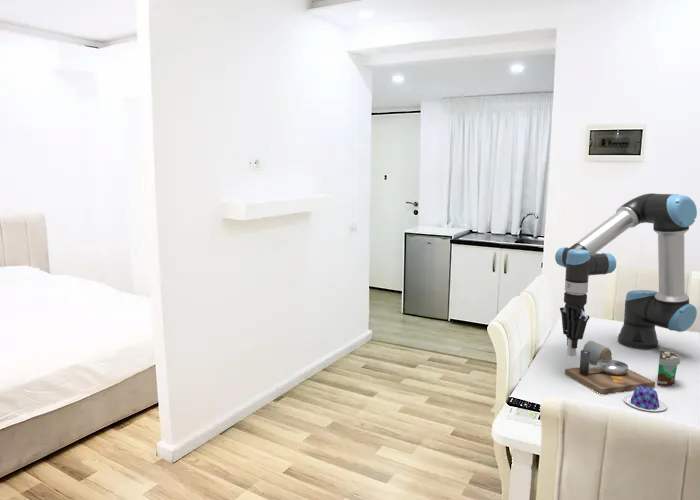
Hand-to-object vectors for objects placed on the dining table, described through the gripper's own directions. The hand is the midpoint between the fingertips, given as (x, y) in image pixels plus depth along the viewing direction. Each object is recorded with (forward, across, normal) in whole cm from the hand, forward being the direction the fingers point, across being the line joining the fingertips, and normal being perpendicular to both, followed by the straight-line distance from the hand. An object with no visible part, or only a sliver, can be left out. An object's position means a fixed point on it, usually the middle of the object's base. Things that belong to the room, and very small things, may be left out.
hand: (571, 355), depth 187 cm
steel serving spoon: (+4, +7, +8) cm, 11 cm away
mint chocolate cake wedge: (+7, +17, +27) cm, 32 cm away
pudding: (+7, +28, +6) cm, 29 cm away
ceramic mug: (+7, -6, +18) cm, 20 cm away
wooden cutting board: (+6, +10, +8) cm, 14 cm away
